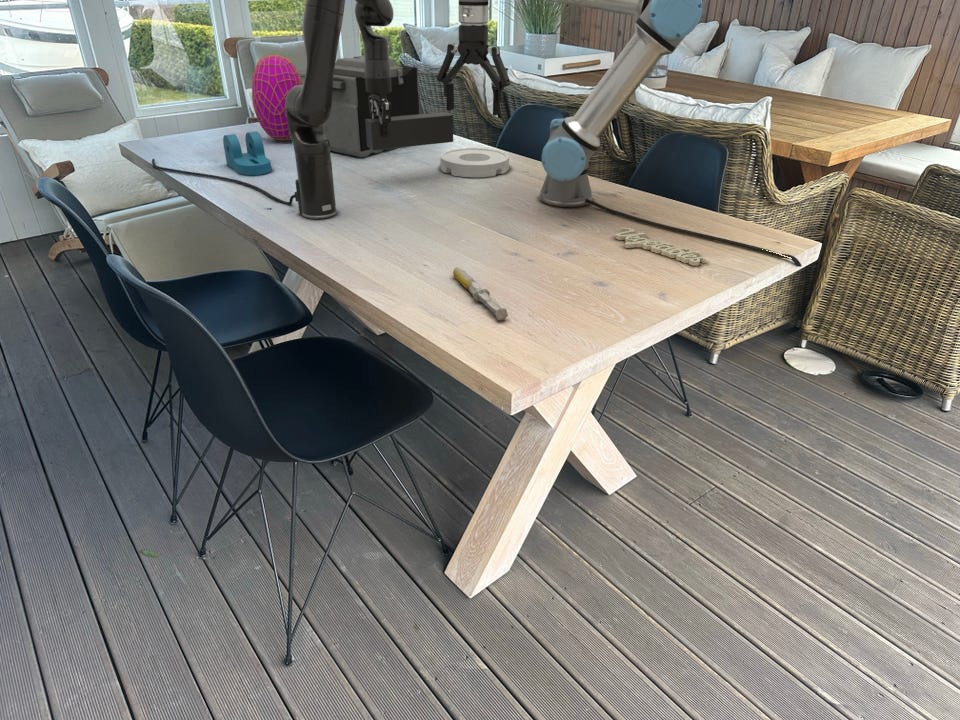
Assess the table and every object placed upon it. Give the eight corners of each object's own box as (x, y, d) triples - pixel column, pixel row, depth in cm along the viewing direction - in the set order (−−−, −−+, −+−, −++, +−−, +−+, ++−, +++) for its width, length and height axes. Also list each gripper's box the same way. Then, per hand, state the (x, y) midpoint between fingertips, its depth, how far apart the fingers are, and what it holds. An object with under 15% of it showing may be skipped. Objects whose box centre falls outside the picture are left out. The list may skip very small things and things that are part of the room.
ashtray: (443, 158, 243) (443, 147, 241) (508, 159, 242) (508, 148, 240) (437, 176, 223) (437, 164, 221) (508, 178, 222) (509, 165, 220)
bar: (446, 138, 222) (445, 111, 218) (453, 141, 217) (453, 115, 213) (367, 146, 211) (365, 119, 207) (373, 150, 207) (371, 122, 203)
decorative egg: (293, 132, 276) (283, 50, 261) (319, 140, 264) (310, 56, 249) (249, 139, 265) (236, 54, 250) (273, 148, 253) (261, 60, 238)
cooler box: (383, 133, 276) (378, 52, 261) (425, 141, 265) (422, 56, 250) (314, 150, 251) (304, 61, 235) (358, 160, 240) (350, 67, 224)
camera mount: (227, 164, 233) (221, 132, 227) (257, 160, 238) (252, 129, 233) (244, 176, 220) (239, 143, 215) (276, 172, 225) (271, 139, 220)
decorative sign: (601, 235, 175) (625, 226, 181) (600, 238, 175) (625, 230, 181) (689, 266, 158) (713, 255, 164) (689, 269, 158) (713, 259, 164)
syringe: (449, 274, 155) (449, 263, 153) (465, 272, 156) (464, 260, 154) (490, 323, 135) (491, 310, 133) (508, 319, 136) (508, 307, 134)
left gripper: (357, 72, 204) (362, 131, 213) (373, 79, 193) (377, 141, 202) (381, 71, 207) (385, 129, 216) (398, 77, 196) (401, 138, 205)
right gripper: (422, 22, 174) (425, 110, 185) (513, 27, 165) (510, 119, 176) (436, 20, 180) (438, 105, 191) (524, 25, 171) (521, 114, 182)
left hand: (381, 134), depth 209 cm, fingers closed on bar, 5 cm apart
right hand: (472, 112), depth 183 cm, fingers open, 13 cm apart
